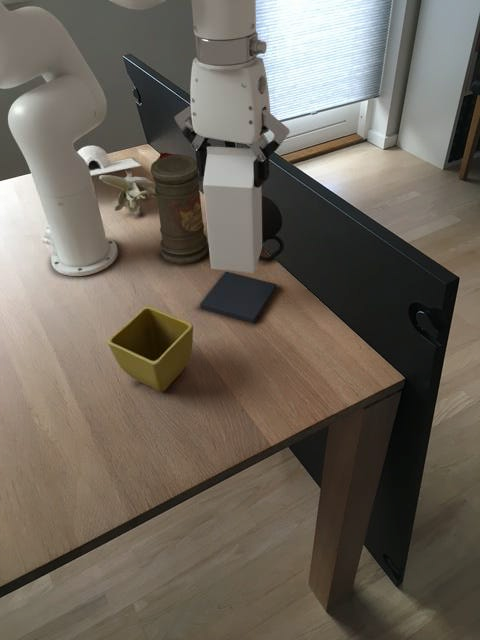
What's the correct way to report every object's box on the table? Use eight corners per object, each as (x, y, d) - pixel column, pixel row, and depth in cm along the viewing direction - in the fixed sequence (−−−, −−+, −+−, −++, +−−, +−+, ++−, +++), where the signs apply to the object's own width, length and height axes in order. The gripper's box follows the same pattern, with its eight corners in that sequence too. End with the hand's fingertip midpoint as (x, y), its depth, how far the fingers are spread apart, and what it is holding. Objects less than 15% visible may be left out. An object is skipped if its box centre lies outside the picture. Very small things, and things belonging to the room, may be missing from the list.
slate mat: (200, 308, 92) (199, 304, 91) (226, 275, 98) (225, 271, 98) (253, 323, 88) (253, 319, 88) (276, 288, 95) (276, 284, 94)
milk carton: (254, 274, 85) (251, 160, 72) (210, 270, 86) (200, 157, 73) (262, 248, 90) (260, 138, 77) (221, 245, 91) (212, 136, 78)
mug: (284, 255, 108) (252, 280, 102) (243, 214, 109) (209, 235, 104) (302, 230, 101) (269, 255, 95) (258, 186, 103) (223, 208, 97)
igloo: (48, 184, 114) (40, 158, 111) (50, 174, 131) (44, 152, 129) (141, 165, 118) (135, 141, 116) (131, 158, 136) (126, 137, 133)
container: (154, 259, 103) (138, 172, 91) (175, 235, 109) (163, 150, 97) (196, 268, 100) (185, 180, 88) (215, 243, 106) (208, 157, 94)
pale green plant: (168, 225, 116) (101, 212, 108) (145, 207, 129) (82, 194, 121) (178, 186, 114) (110, 169, 106) (153, 171, 126) (90, 156, 118)
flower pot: (164, 408, 76) (155, 364, 70) (117, 384, 80) (105, 341, 74) (200, 368, 81) (194, 324, 75) (155, 348, 85) (146, 304, 79)
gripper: (303, 45, 66) (298, 176, 78) (179, 34, 72) (192, 158, 84) (280, 64, 61) (279, 201, 73) (150, 51, 67) (168, 179, 79)
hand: (232, 177), depth 78 cm, fingers closed on milk carton, 8 cm apart
